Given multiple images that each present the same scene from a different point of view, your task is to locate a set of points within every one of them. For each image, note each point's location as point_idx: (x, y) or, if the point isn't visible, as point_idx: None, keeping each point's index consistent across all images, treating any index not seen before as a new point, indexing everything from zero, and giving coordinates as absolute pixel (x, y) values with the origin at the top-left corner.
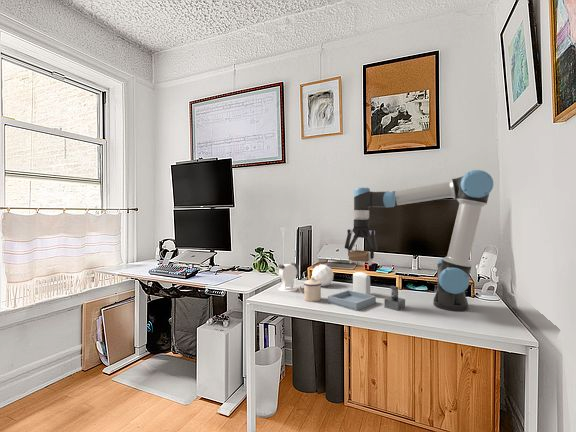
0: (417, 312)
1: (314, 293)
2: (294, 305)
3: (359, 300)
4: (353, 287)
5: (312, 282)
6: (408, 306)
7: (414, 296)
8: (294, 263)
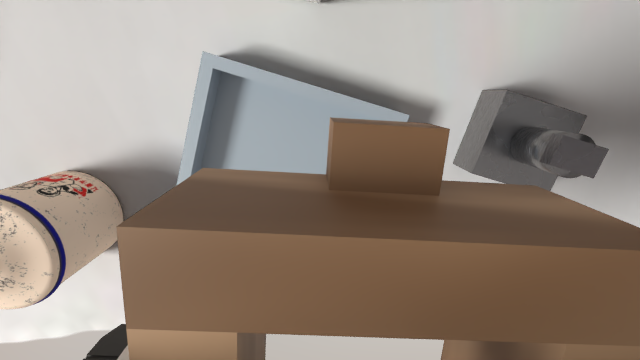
0: (607, 164)
1: (84, 265)
2: (71, 330)
3: (316, 145)
4: None
5: (11, 294)
6: (569, 85)
7: None
8: None
